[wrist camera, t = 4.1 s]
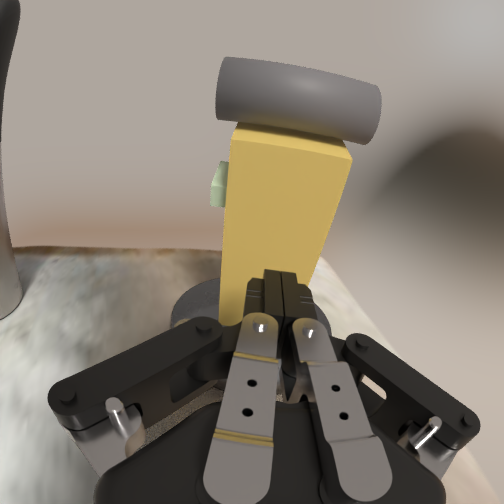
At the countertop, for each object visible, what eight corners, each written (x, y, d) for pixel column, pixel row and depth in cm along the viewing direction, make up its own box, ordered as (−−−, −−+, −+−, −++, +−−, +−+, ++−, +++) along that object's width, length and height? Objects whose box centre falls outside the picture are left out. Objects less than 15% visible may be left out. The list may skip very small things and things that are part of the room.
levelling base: (337, 400, 21) (347, 383, 20) (152, 379, 21) (149, 360, 20) (314, 299, 34) (319, 283, 33) (190, 283, 34) (191, 265, 33)
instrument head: (297, 339, 25) (392, 96, 11) (206, 328, 25) (216, 61, 10) (296, 295, 29) (363, 78, 14) (215, 285, 28) (232, 53, 14)
